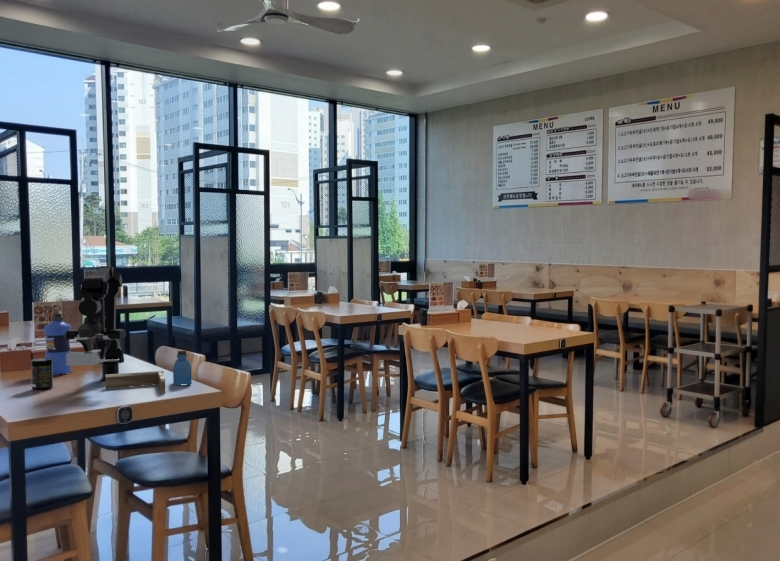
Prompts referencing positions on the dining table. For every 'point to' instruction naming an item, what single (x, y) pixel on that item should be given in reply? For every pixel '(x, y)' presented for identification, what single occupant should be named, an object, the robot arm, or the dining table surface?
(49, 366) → the supplement container
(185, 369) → the blue corked bottle
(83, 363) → the bracket
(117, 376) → the tan l-shaped wall
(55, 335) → the water bottle
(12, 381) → the dining table surface
